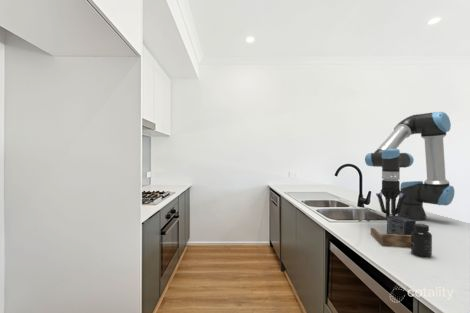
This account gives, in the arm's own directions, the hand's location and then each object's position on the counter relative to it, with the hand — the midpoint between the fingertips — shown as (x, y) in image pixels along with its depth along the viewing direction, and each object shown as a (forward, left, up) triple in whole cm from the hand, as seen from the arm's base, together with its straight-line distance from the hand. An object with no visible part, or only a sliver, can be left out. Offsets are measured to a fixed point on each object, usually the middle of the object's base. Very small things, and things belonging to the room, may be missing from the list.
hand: (390, 227), depth 127 cm
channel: (0, +7, -4) cm, 8 cm away
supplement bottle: (-3, +24, -4) cm, 25 cm away
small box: (-2, +7, -4) cm, 8 cm away
